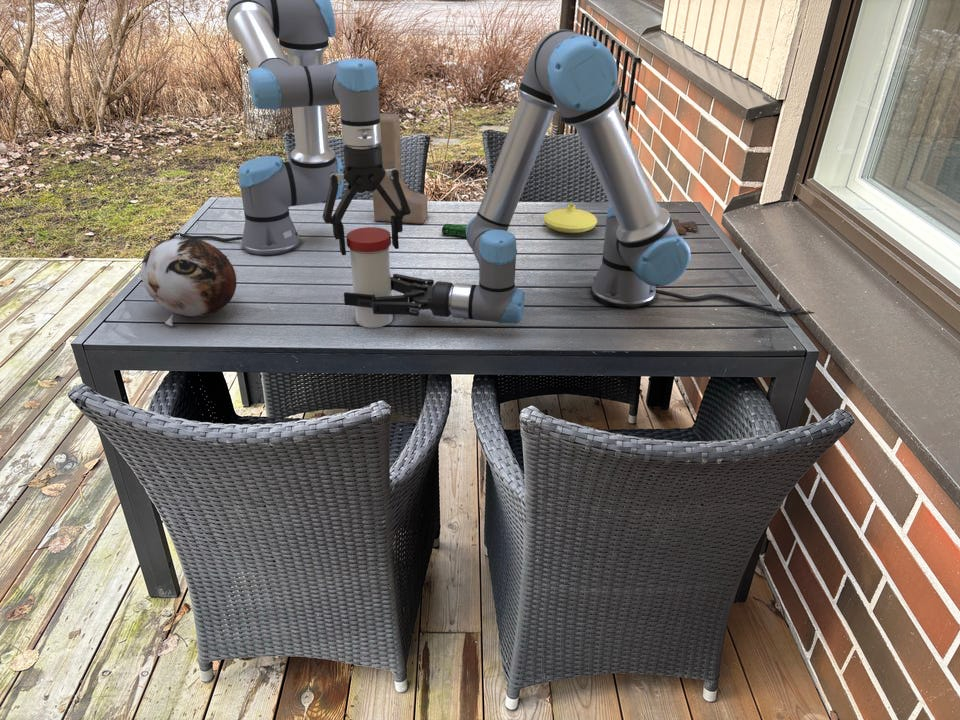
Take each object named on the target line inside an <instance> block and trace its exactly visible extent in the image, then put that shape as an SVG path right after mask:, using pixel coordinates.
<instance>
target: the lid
mask: <svg viewBox="0 0 960 720" xmlns="http://www.w3.org/2000/svg"><path fill="white" fill-rule="evenodd" d="M345 237H346V246H347V247H348V249H349V250H350V249H352V250H354V251H358V252H376V251H381V250H384V249H386V248H388V247H389V248H390V246H391V244H392V234H391V232H390V231H389V230H387V229H385V228H381V227H376V226H375V227H373V226H371V227H369V226H367V227H359V228H355V229H352V230H350V231H348V232H347V234H346V236H345Z"/></svg>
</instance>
